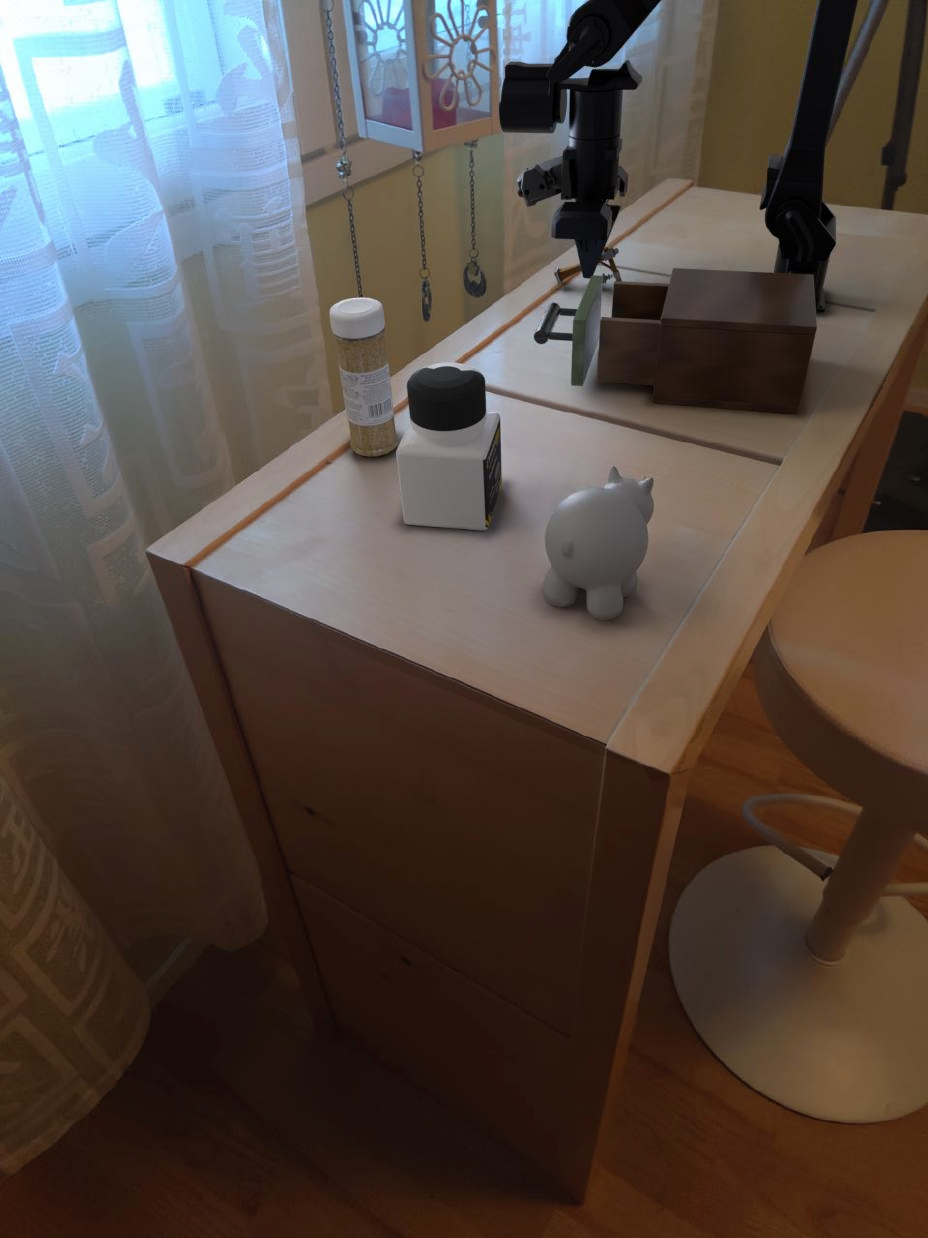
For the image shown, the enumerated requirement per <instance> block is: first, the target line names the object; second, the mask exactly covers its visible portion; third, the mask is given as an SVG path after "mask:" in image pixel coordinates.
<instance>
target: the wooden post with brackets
mask: <svg viewBox="0 0 928 1238" xmlns="http://www.w3.org/2000/svg"><path fill="white" fill-rule="evenodd" d="M619 252H620V250H619V248H618V247H613V246H612V247H610V248H609V246H605V248H604V250H603V253H602V255H601V257H600V260H599V262H598V265H599V264H600V265H603V266H604V267H606V268H608V269H609V270H610V271H611V272H612V274H609V273H608V274H607V275H606V274H605V273H604V272H603V273H602V275H601V276H603V283H602V285H603V284H605V285H607V281H608V280H609V281H610V280H611V279H612V278H614V279H615V281H623V280H622V276H621V273H620V271H619V269H618V268H617V265H616V263H615V260H614V258H616V255H618V254H619ZM607 261H608V263H609V264H607ZM580 272H582V270H581V266H580V262H579V263H577V264H574V265H571V266H567V267H564V268H560V267H559V266H555V268H554V270H553V274H554V276H555V279H556V281H557V284H558V286H561V285H563V282H564V281H565V280H566V279H568V278H570V277H572V276H574V275H575V274H578V273H580Z"/></svg>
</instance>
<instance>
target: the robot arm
mask: <svg viewBox="0 0 928 1238" xmlns="http://www.w3.org/2000/svg"><path fill="white" fill-rule="evenodd" d="M661 1H662V0H586V2H584V3H583V4H582V5H580V6H579V7H577V9H575V11H574V12H573V13H572V15H571V16H570V18H569V20H568V22H567V29H566V37H565V38H566V43H565V44H564V46H563V47H562V49H561V51H560V53H559V54H557V56H555V57H554V58H553V63H527V62H523V61H519V60H518V61H514V60H513V61H509V62H508V63H507V64H505V66H504V78H503V81H502V85H501V92H500V101H499V102H498V118H499V125H500V128H501V131H502V132H503V133H507V134H508V133H510V134H512V133H513V134H554V133H555V130H556V129H557V126H558V124H564V123H565V120H566V116H567V110H568V143H567V146H566V147H565V149H563V151H562V154H561V155H560V156H557V157H553V158H551V159H548V160H546V161H543V162H540V163H538V164H535V165H533V166H530V167H526V168H525V169H524V170H523V171H522V172H521V173H520V175H519V176H518V177H517V179H516V181H517V182H516V184H517V186H518V190H517V195H518V197H520V198H522V199H523V202H524V205H525V207H526V208H530V207H533V206H536V205H537V203H538V202H542V201H545V200H547V199H549V198H552V197H553V198H554V197H555V196H557V195H559V194H560V200H561V201H564V202H563V203H562V204H561V205H560V206H559V207H558V208H557V209H556V211H555V213H554V214H553V216H552V218H551V230H550V231H551V232H550V233H551V235H550V236H551V238H553V239H555V240H574V243H575V244H574V245H575V248H576V253H577V256H578V262H579V263H580V266H581V270H582V271H581V274H582V278H583V279H587V280H588V279H589V280H590V278H591V276H592V275H595V272H596V270H597V268H598V265H599V264H598V262H599V260H600V257H601V255H602V253H603V251H604V248H605V247H606V245H607V243H608V241H609V238H610V235H611V233H612V232H613V231H612V230H613V228H614V226H615V223H616V221H617V218H618V216H619V214H620V211H621V208H622V206H621V205H619V204H610V201H611V200H612V201H614V200H615V198H616V196H617V194H618V193H619V197H621V198H624V197H626V194H627V192H628V185H629V182H628V181H629V174H628V172H627V171H626V170H625V169H624V167H623V166H622V165H619V164H620V153H621V152H622V149H623V138H621V132H622V117H623V116H622V113H623V99H624V98H623V97H624V91H636V90H637V89H638V87H639V86H640V85H641V83H642V82H643V76H642V74H640V73H639V72H638V71H637V70H636V69H635V67H634V66H633V65H632V63H631V60H630V59H626V60H625V61H624V62H623V63H622V64H621V66H620V67H619V68H601V67H603V66H604V65H606V64H607V63H609V62H610V61H611V60H612V59H613V58H614V57H615V56H616V55H617V54H618V53H619V52H620V50H621V49H622V48H623V47H624V46H625V44H626V43H627V42H628V41H629V40H630V39H631V37H632V36H633V35H634V34H635V33H636V31H637V30H638V29H639V28H640V27H641V26H642V24H644V22H645V21H646V19H647V18H648V17H649V16H650V14H652V12H653V11H654V9H656V7H657V6H658V5H660V3H661ZM858 2H859V0H817V4H816V8H815V13H814V18H813V23H812V28H811V33H810V38H809V43H808V47H807V53H806V58H805V63H804V68H803V72H802V77H801V83H800V87H799V93H798V97H797V98H798V99H797V103H796V108H795V112H794V117H793V123H792V126H791V132H790V136H789V139H788V142H787V144H786V146H785V149H784V151H783V153H782V155H779V154H775V153H770V154H769V158H768V163H767V167H766V168H767V169H766V183H765V186H764V187H763V188H762V191H761V192H762V193H761V197H760V203H759V208H758V209H759V210H760V211H763V210H765V213H764V224H765V227H766V229H767V230H768V232H769V233H770V234H771V235H772V236H773V237H775V238H776V239H777V240H778V245H777V251H776V256H775V262H774V267H773V272H772V273H793V274H813V276H814V290H815V305H816V313H824V312H825V310H826V300H825V289H824V285H825V282H826V276H827V272H828V268H829V263H830V258H831V254H832V252H833V251H834V249H835V248H836V245H837V217H836V215H835V214H834V213H833V212H832V210H831V208H829V206H828V205H827V204H826V202H825V201H824V200H823V193H824V191H823V190H824V175H825V155H826V154H825V153H826V144H827V139H828V134H829V130H830V125H831V122H832V116H833V113H834V109H835V104H836V99H837V96H838V95H837V94H838V90H839V86H840V83H841V77H842V73H843V68H844V64H845V60H846V56H847V51H848V46H849V41H850V37H851V33H852V29H853V24H854V20H855V15H856V11H857V7H858ZM584 67H588V68H592V69H591V70H590V72H589V76H588V77H573V76H575V74H577V73H578V72H579V71H580V70H582V69H583V68H584ZM568 90H569V103H568ZM567 108H568V109H567ZM572 200H574V201H572Z"/></svg>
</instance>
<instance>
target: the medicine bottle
mask: <svg viewBox="0 0 928 1238" xmlns="http://www.w3.org/2000/svg"><path fill="white" fill-rule="evenodd" d="M486 391H487V389H486V378H485V376H484V374H482V372H481V371H480V370H479V369H478V368H476V367H474V366H471V365H469V364H467V363H466V364H465V363H460V362H451V361H447V362H446V361H445V362H439V363H438V362H437V363H433V364H429V365H426V366H423V367H421V368H419V369H418V370H416V371H414V372H413V373H412V374H411V376H410V377H409V378H408V380H407V382H406V394H407V403H408V413H409V424H408V426H407V428H406V431H405V433H404V435H403V436H402V438H401V440H400V442H399V444H398V447H397V449H396V451H395V455H396V463H397V473H398V474H397V475H398V481H399V491H400V498H401V508H402V515H403V516H402V517H403V522H404V524H405V525H408V526H421V527H432V528H433V527H434V528H447V529H459V530H471V531H484V532H485V531H487V530H489V526H490V523H491V520H492V517H493V515H494V510H495V507H496V504H497V501H498V497H499V495H500V492H501V488H502V484H503V473H502V471H503V470H502V436H501V435H502V434H501V433H502V430H501V415H500V413H498V412H495V411H487V392H486Z"/></svg>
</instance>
